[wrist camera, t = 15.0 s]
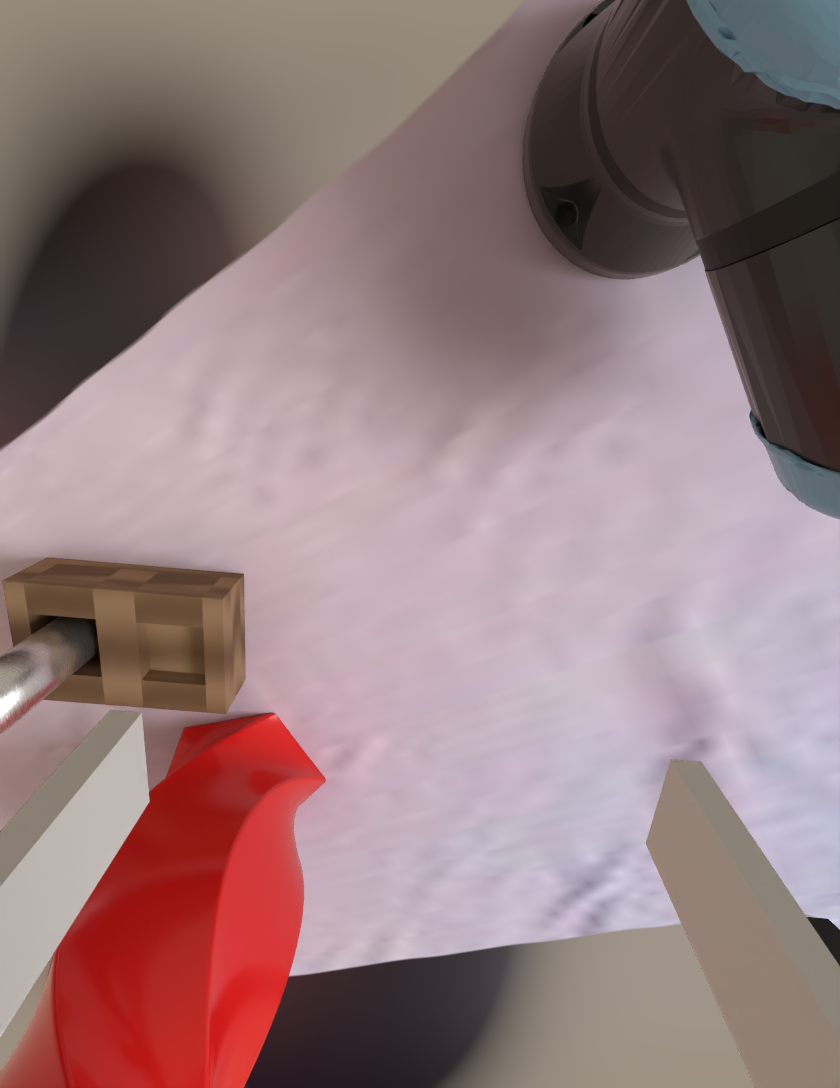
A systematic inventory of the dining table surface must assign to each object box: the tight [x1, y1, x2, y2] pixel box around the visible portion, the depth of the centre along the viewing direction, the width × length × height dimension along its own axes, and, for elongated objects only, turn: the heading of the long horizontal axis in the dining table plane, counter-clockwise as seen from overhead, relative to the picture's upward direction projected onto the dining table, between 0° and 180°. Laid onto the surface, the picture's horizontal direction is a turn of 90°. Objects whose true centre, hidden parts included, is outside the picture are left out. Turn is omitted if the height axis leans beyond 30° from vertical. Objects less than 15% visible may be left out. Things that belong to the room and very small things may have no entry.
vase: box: [0, 713, 326, 1088], centre depth 38 cm, size 15×14×28 cm
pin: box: [0, 616, 99, 736], centre depth 38 cm, size 4×4×14 cm
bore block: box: [2, 558, 245, 714], centre depth 44 cm, size 10×16×5 cm, turn 85°
